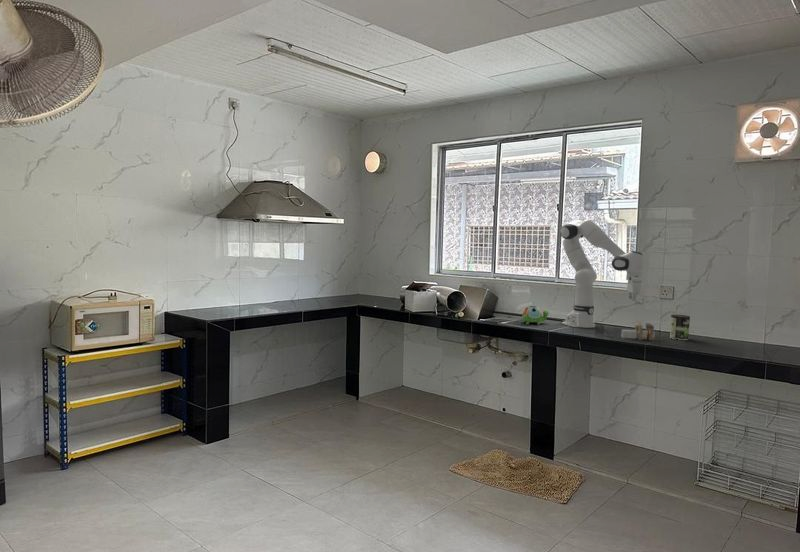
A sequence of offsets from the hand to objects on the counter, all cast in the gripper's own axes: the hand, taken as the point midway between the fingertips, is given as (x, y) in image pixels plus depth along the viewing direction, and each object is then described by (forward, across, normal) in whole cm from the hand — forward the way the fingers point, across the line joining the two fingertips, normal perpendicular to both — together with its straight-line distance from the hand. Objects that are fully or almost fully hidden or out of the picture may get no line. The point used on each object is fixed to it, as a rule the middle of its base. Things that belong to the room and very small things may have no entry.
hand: (631, 299), depth 343 cm
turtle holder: (+25, -27, -56) cm, 67 cm away
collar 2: (+22, +10, +10) cm, 26 cm away
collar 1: (+22, +10, +4) cm, 24 cm away
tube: (+22, +10, +3) cm, 24 cm away
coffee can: (+21, +4, +28) cm, 36 cm away
